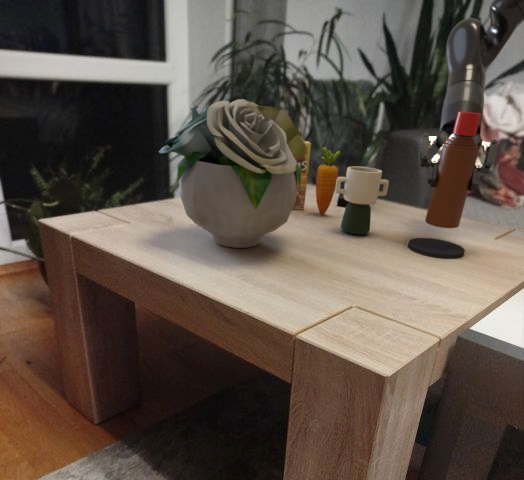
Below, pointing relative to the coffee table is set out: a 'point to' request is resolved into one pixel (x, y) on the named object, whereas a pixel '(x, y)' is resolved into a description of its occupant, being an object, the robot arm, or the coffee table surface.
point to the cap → (466, 123)
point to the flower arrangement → (238, 170)
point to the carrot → (326, 181)
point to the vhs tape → (342, 200)
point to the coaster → (436, 248)
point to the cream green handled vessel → (360, 196)
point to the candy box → (302, 177)
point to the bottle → (452, 181)
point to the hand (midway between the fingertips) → (452, 186)
